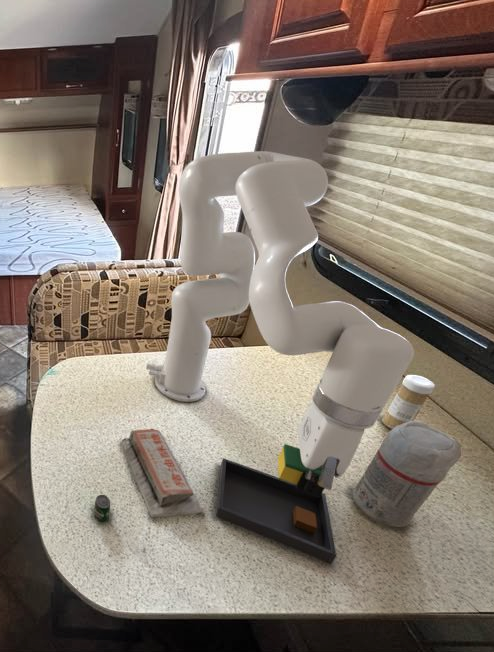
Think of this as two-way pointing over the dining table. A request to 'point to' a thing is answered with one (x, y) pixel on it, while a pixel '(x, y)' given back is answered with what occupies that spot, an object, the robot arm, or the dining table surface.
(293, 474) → the sponge
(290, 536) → the pan
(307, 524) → the brown square tile
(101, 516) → the beer can
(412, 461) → the grey plastic tub
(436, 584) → the dining table surface
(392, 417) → the sprinkles bottle
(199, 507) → the packaged product
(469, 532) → the dining table surface
